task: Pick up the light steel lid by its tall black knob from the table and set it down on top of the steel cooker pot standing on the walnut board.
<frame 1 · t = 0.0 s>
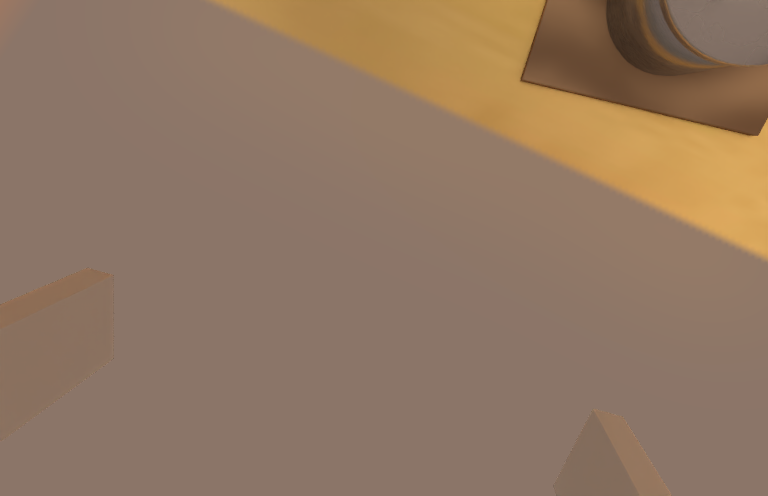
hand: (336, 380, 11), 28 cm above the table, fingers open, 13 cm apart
walnut board: (676, 5, 30), on the table
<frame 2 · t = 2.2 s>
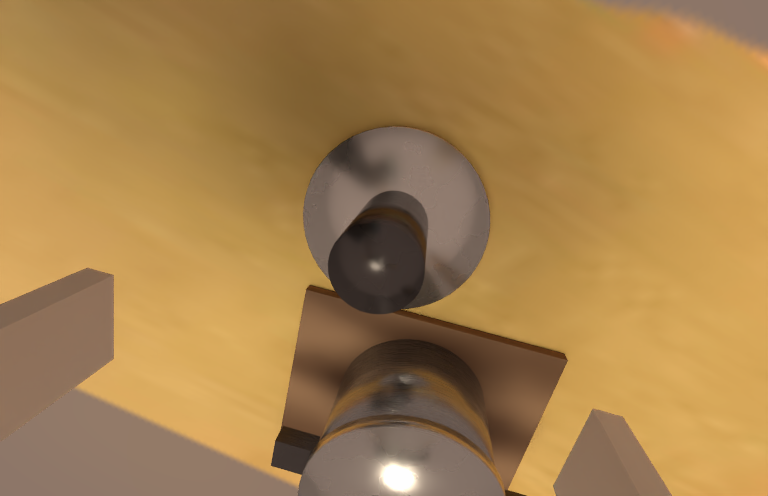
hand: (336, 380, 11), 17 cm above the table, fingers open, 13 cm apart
walnut board: (409, 400, 31), on the table
cooker pot: (410, 402, 30), resting on walnut board
lid: (396, 218, 27), on the table
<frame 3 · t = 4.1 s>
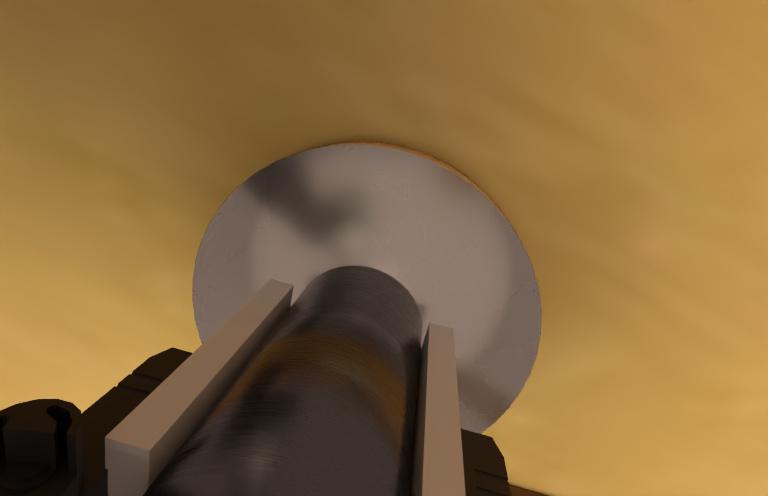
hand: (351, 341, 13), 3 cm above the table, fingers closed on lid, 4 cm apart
lid: (365, 304, 15), on the table, touching gripper
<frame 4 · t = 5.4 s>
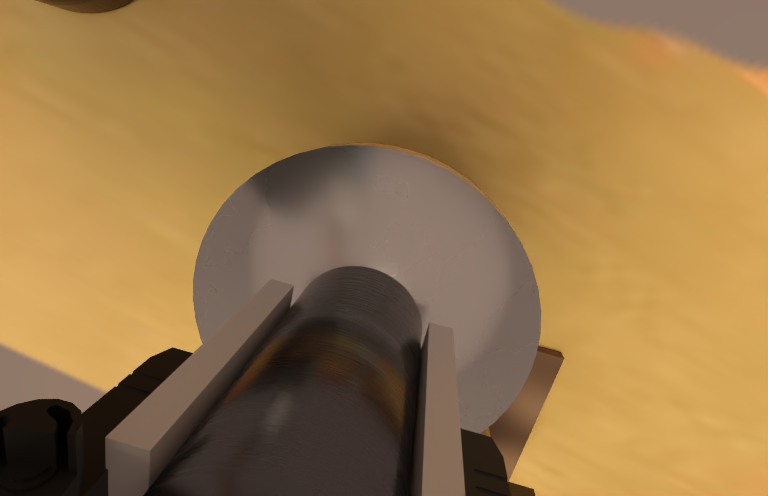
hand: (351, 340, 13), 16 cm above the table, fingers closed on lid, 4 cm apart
walnut board: (412, 397, 32), on the table
cooker pot: (413, 398, 31), resting on walnut board
lid: (365, 305, 15), point 14 cm above the table, touching gripper
when the fingers open (14 cm above the table, at t = 7.1 s): lid drops 1 cm, resting on cooker pot.
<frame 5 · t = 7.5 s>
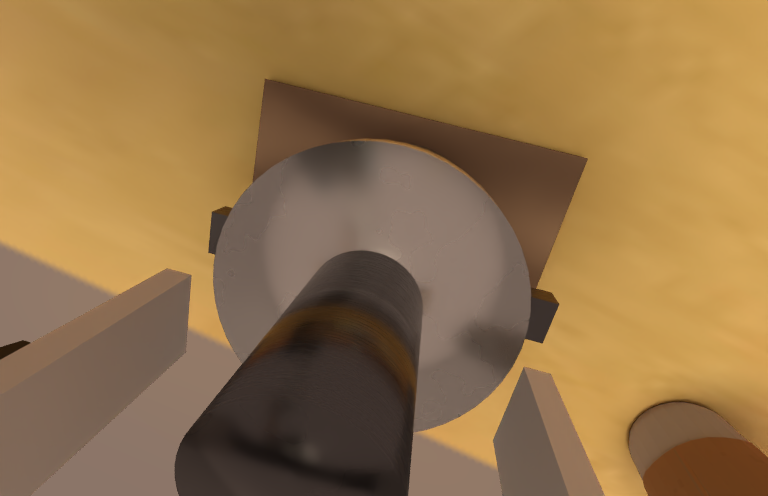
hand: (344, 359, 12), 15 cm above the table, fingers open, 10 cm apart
coffee cup: (672, 434, 28), on the table
walnut board: (393, 235, 26), on the table
cooker pot: (394, 231, 25), resting on walnut board
lid: (371, 288, 16), point 10 cm above the table, touching cooker pot
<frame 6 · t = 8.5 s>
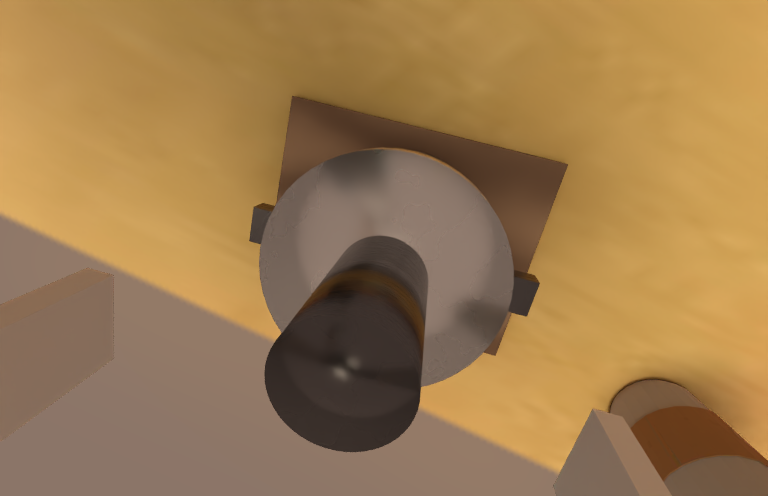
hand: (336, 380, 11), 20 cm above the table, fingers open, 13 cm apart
coffee cup: (648, 409, 31), on the table
walnut board: (401, 231, 29), on the table
cooker pot: (401, 227, 29), resting on walnut board
lid: (385, 269, 20), point 10 cm above the table, touching cooker pot
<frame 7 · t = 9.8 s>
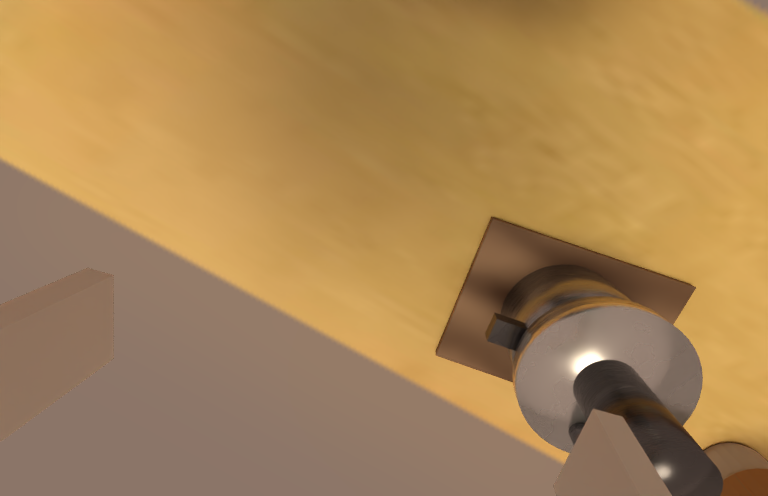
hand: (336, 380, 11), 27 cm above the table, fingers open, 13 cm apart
coffee cup: (724, 464, 41), on the table
walnut board: (554, 319, 38), on the table
cooker pot: (559, 319, 37), resting on walnut board
lid: (597, 374, 29), point 10 cm above the table, touching cooker pot
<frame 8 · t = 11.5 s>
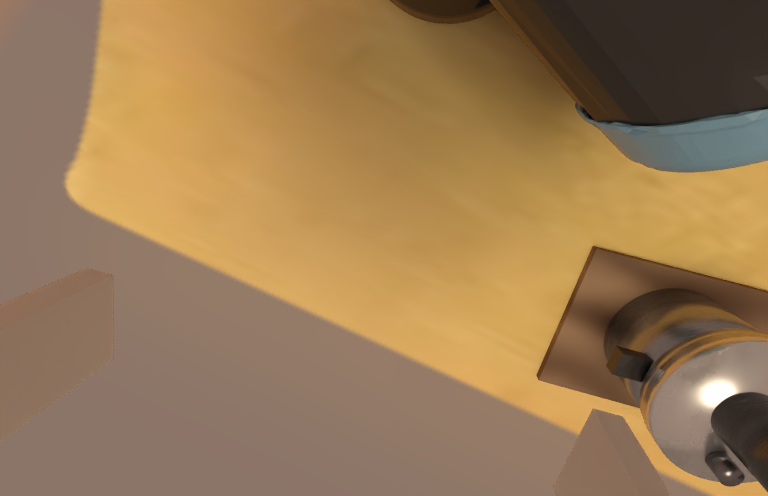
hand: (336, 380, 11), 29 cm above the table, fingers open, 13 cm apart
walnut board: (657, 340, 39), on the table
cooker pot: (664, 340, 38), resting on walnut board
lid: (729, 402, 30), point 10 cm above the table, touching cooker pot
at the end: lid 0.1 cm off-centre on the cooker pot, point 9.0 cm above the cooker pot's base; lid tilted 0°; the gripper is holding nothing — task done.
